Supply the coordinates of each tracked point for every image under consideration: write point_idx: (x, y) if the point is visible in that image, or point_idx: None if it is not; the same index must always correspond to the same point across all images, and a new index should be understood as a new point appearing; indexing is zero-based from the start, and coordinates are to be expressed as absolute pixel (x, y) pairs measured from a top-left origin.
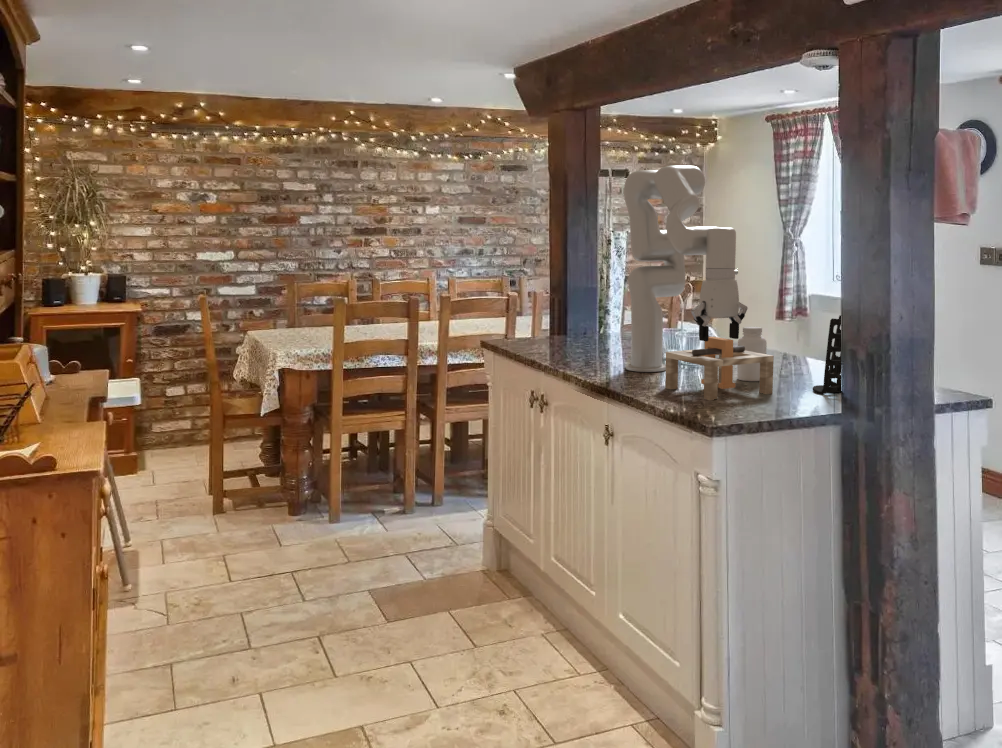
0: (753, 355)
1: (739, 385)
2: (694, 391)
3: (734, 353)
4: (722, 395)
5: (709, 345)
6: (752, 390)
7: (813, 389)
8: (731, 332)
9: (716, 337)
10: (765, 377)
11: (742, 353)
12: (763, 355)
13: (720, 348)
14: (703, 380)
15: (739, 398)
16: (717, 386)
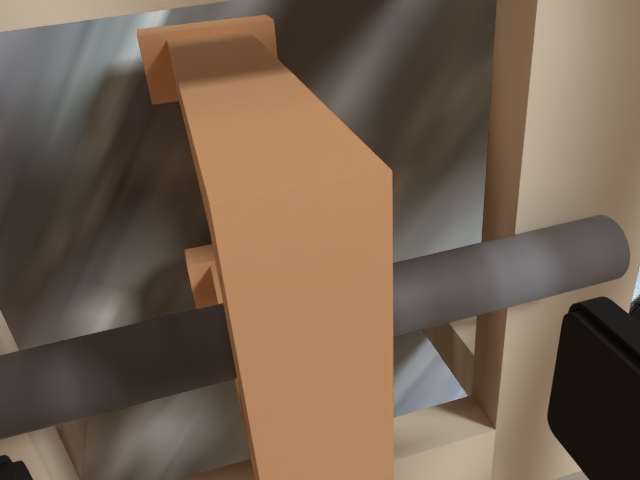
0: (489, 443)
1: (473, 3)
2: (33, 122)
3: (506, 201)
4: (175, 299)
5: (217, 270)
6: (427, 200)
7: (636, 318)
8: (615, 403)
9: (369, 327)
10: (455, 375)
11: (505, 319)
12: (548, 451)
13: (251, 454)
14: (145, 69)
15: (227, 386)
16: (82, 459)
